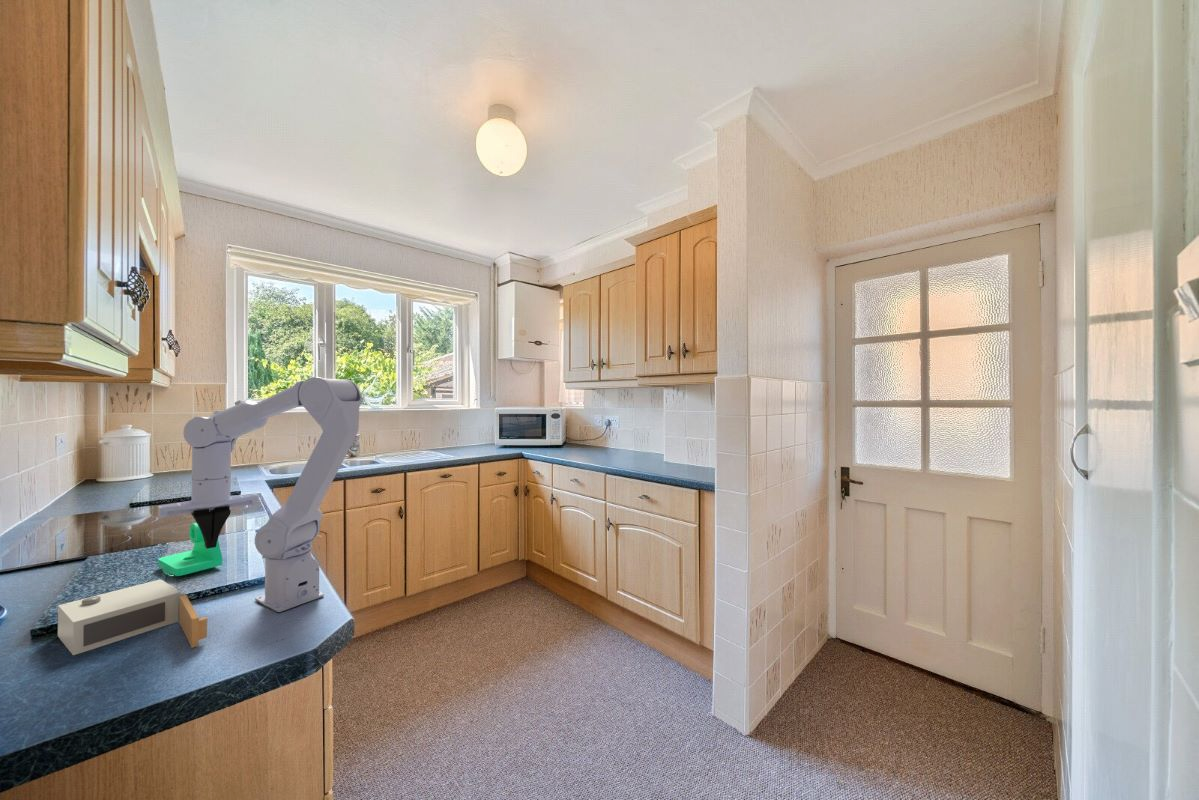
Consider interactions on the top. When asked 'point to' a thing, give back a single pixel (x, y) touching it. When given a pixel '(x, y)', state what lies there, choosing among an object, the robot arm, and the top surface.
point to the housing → (116, 615)
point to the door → (191, 621)
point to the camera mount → (192, 556)
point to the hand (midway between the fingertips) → (210, 546)
